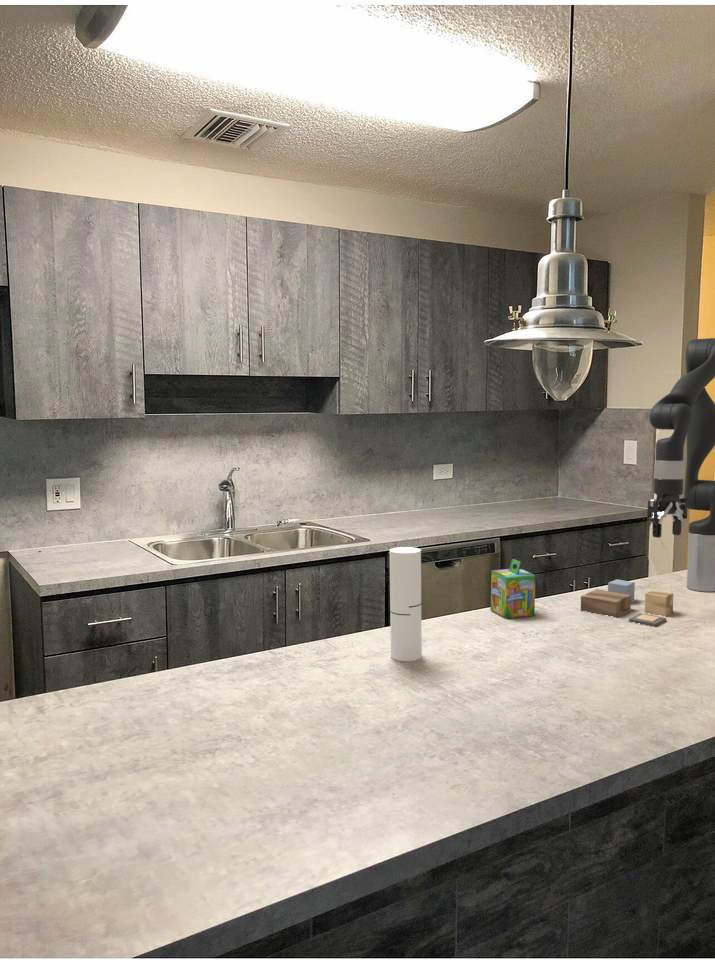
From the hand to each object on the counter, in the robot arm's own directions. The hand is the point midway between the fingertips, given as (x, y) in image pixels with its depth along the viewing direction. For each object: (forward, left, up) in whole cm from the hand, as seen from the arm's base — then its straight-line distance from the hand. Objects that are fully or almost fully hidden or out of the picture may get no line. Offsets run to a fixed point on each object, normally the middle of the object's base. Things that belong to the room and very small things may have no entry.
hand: (666, 536), depth 209 cm
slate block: (-1, -13, -21) cm, 25 cm away
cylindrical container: (+76, -30, -21) cm, 84 cm away
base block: (+11, -12, -21) cm, 27 cm away
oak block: (+4, 0, -21) cm, 21 cm away
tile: (+14, +1, -21) cm, 25 cm away
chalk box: (+30, -30, -21) cm, 47 cm away
